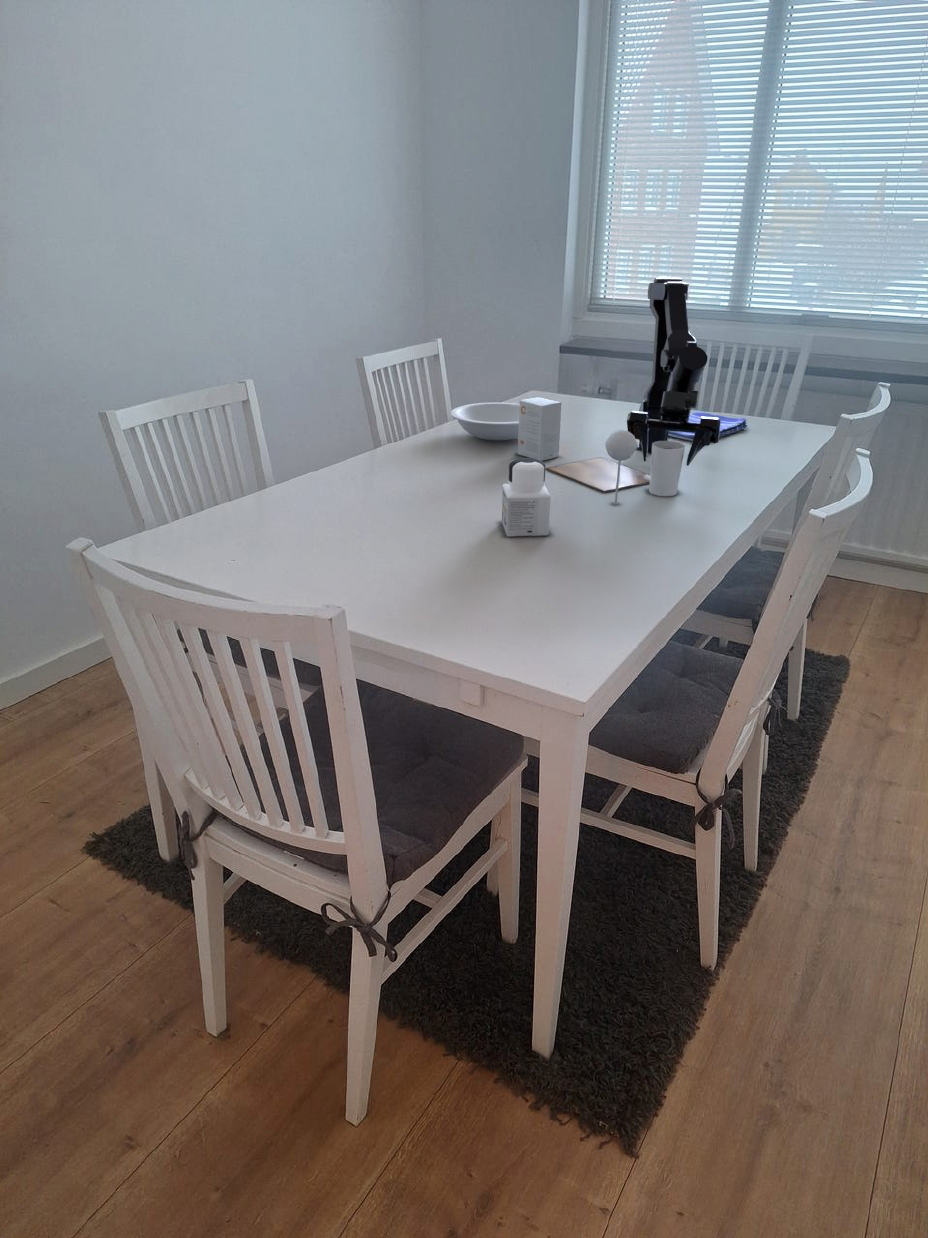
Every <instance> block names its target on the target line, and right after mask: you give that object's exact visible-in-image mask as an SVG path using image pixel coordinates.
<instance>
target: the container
mask: <svg viewBox="0 0 928 1238" xmlns="http://www.w3.org/2000/svg"><path fill="white" fill-rule="evenodd" d="M546 466H547V465H546V463H545V462H544V461H540V460H538V459H534V458H529V457H520V458H519V457H518V458H516V459H513V460H511V461H510V462H509V465H508V483H503V484H502V498H501V499H502V500H501V501H502V502H501V524H502V526H503V530H504V532H505V535H506V537H508V538H509V537H543V536H545V537H547V536H549V534H550V533H549V532H550V516H551V515H550V514H551V499H552V498H551V494H550V493H549V490H548V489H547V487H546V485H545V484H546V483H545V482H546V468H547V467H546Z"/></svg>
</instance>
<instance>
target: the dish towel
mask: <svg viewBox="0 0 928 1238" xmlns="http://www.w3.org/2000/svg"><path fill="white" fill-rule="evenodd" d="M701 417H712V418H719V420H720V421H721V424H720V434H719V438H722V437H724V436H727V435H730V434H733V433H736V432H739V431H741V430H744V429H746V428H748V425H747V419H746V418H745V417H742V418H736V417H728V416H724V415H720V414H719V415H718V414H712V413H707V412H702V411H693V412H692V413H690V416H689V422H688V423H700V420H701ZM694 435H695V433H686V432H675V431H669V434H668V437H672V438H676V439H681V440H685V441H690V442H693V439H694Z"/></svg>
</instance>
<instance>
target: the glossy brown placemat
mask: <svg viewBox="0 0 928 1238" xmlns="http://www.w3.org/2000/svg"><path fill="white" fill-rule="evenodd" d="M546 470H547V471H551V472H553V473H555V474H558V475H560V476H562V477H565V478H567V479H570V480H572V481H575V482H577V483H579V484H581V485H584V486H587V487H590V488H591V489H594V490H597V491H599V492H601V493H604V494H605V493H609V492H614V491H616V483H617V472H618V462H617V463H616V462H614V461H611V460H608V459H605V458H603V457H596V458H591V459H585V460H579V461H574V462H569V463H564V464H558V465H552V466H547V467H546ZM647 484H650V474H646V473H644V472H642V471H638V470H636V469H633V468H630V467H627V466H624V465H622V464H621V466H620V476H619V486H618V491H619V490H624V489H628V488H629V489H630V488H634V487H637V486H642V485H647Z"/></svg>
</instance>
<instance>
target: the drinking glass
mask: <svg viewBox="0 0 928 1238" xmlns="http://www.w3.org/2000/svg"><path fill="white" fill-rule="evenodd" d="M685 449H686V445H685V444H684V443H682V442H679V441H672V440H668V441H658V442H654V443H652V453H651V455H650V456H651V457H650V473H649V475H650V483H649V486H648V492H649V493H650V495H651V494H652V495H654V496H659V497H672V496H673V497H674V496H676V495H677V494H678V489H679V483H680V477H681V472H682V465H683V460H684V454H685Z"/></svg>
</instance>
